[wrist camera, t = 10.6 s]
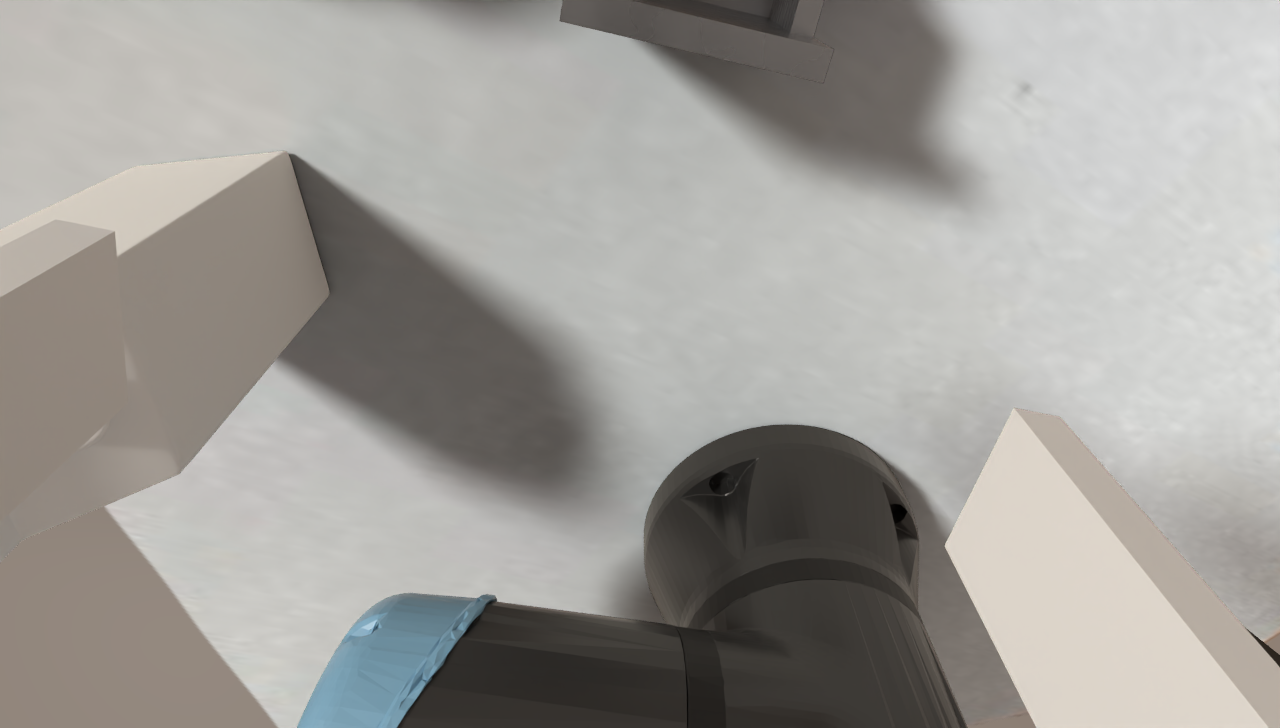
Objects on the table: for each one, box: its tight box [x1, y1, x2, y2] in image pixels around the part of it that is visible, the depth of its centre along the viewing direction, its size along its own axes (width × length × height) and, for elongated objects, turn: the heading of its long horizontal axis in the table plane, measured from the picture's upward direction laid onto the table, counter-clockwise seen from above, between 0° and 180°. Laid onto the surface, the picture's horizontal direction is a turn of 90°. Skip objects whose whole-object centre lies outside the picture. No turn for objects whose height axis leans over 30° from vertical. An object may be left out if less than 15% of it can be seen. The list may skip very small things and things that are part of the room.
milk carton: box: [0, 151, 329, 562], centre depth 30 cm, size 7×7×19 cm
